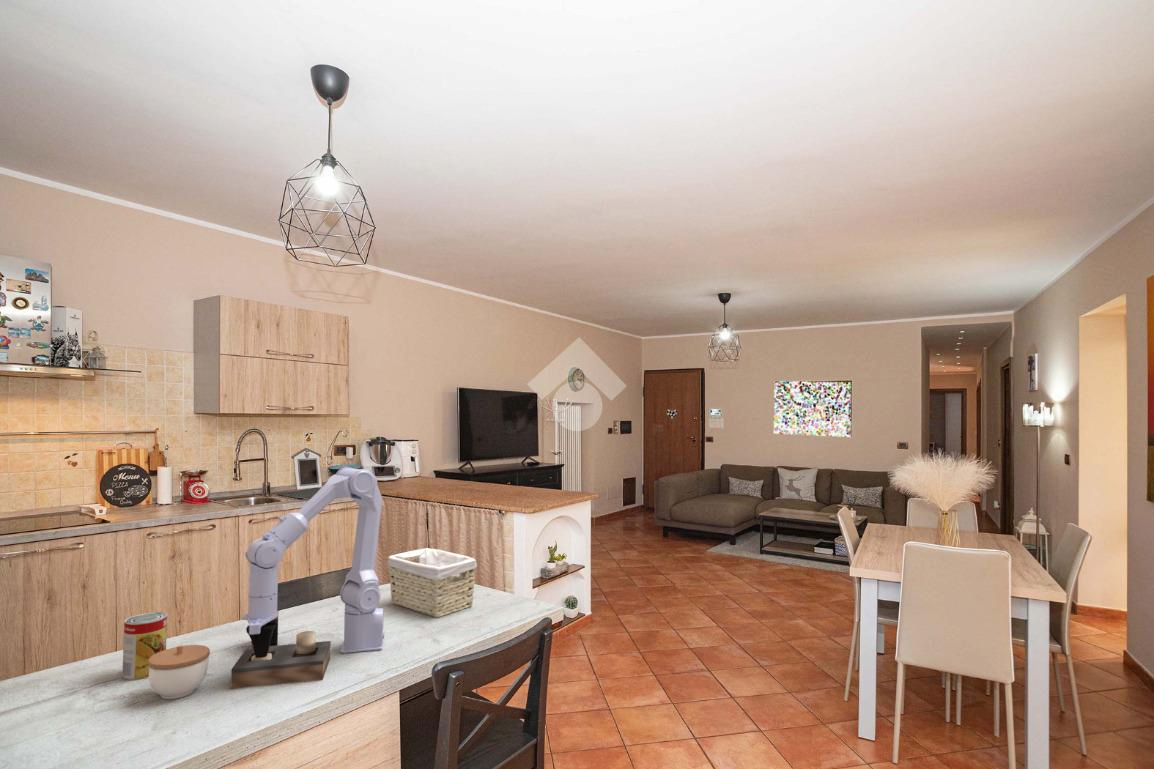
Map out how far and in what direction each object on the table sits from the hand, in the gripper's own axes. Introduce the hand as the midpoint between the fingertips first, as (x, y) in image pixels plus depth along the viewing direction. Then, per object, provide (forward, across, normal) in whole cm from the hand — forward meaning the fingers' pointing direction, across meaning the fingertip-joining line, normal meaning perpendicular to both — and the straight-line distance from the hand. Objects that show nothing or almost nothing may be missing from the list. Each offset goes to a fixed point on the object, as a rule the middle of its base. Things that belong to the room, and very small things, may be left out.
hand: (261, 656), depth 136 cm
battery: (+4, -19, -4) cm, 20 cm away
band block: (+4, 0, +4) cm, 6 cm away
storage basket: (+4, -41, +38) cm, 56 cm away
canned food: (+4, -8, -26) cm, 27 cm away
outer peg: (+4, 0, 0) cm, 4 cm away
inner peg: (0, 0, +9) cm, 9 cm away
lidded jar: (+4, +5, -14) cm, 16 cm away
